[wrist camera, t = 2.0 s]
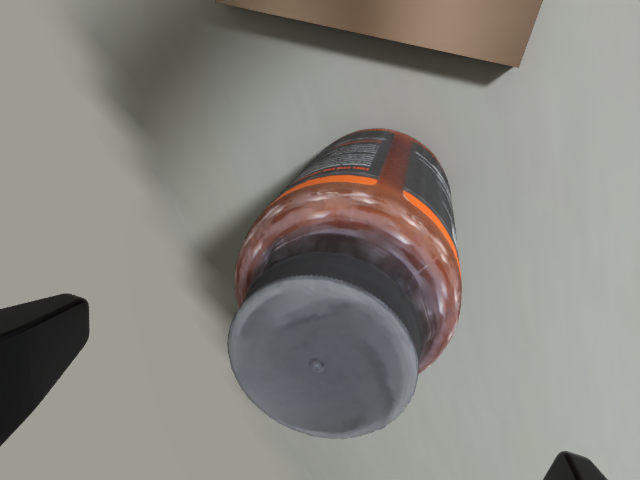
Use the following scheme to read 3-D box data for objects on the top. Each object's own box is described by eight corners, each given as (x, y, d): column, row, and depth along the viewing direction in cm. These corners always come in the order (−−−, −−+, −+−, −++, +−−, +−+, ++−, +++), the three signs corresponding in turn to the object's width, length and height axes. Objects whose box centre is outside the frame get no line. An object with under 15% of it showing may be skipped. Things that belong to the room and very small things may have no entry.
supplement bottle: (281, 190, 20) (126, 335, 10) (383, 92, 18) (314, 153, 8) (372, 286, 21) (314, 511, 11) (482, 205, 19) (541, 398, 8)
